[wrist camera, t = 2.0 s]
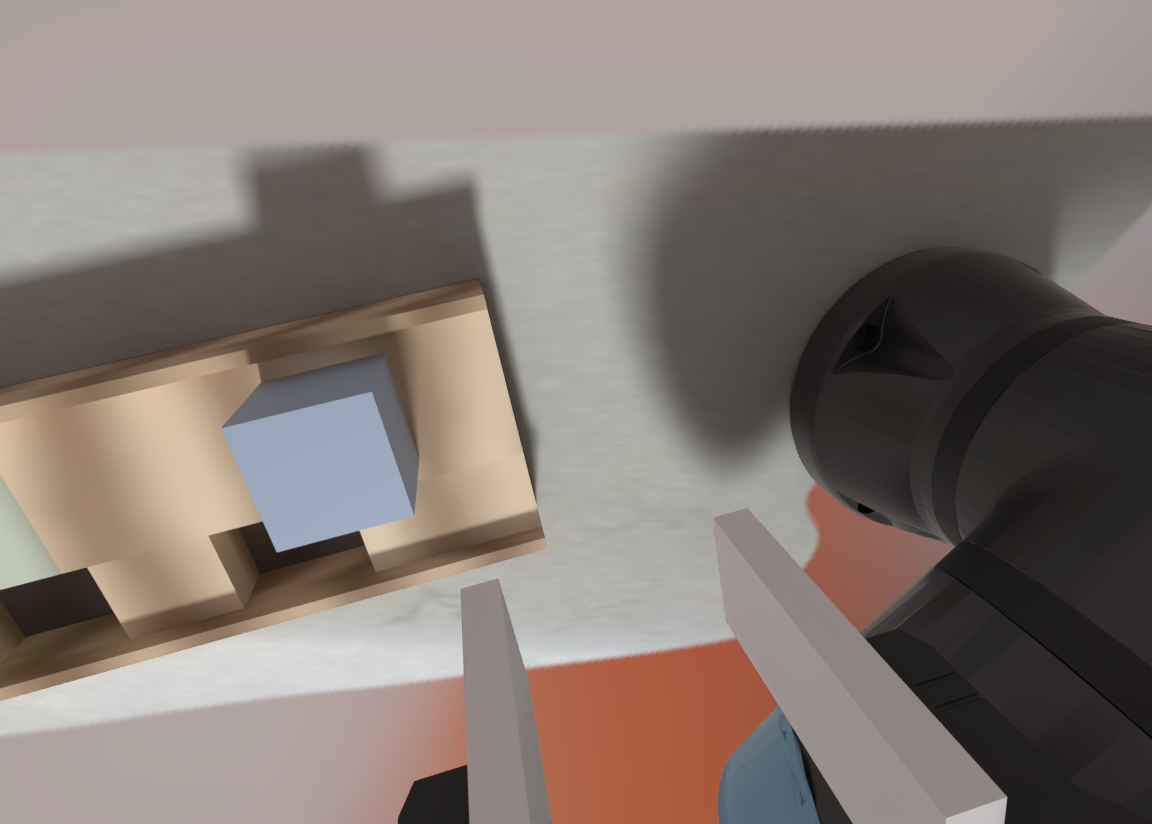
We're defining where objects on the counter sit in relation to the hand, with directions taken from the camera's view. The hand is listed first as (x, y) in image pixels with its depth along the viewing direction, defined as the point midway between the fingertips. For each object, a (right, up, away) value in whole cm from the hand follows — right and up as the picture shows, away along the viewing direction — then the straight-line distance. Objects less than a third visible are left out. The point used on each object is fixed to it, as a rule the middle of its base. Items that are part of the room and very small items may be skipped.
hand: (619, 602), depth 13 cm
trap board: (-19, +1, +16) cm, 25 cm away
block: (-11, +3, +14) cm, 18 cm away
